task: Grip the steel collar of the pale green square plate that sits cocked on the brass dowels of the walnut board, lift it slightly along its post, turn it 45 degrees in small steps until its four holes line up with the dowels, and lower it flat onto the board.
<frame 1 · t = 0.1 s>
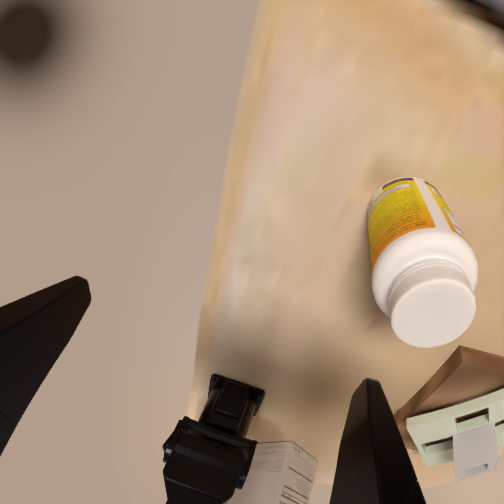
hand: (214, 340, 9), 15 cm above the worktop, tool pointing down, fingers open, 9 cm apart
supplement bottle: (405, 211, 20), on the worktop
flange plate: (473, 427, 26), point 3 cm above the worktop, touching walnut board
walnut board: (471, 406, 28), on the worktop
supplement box: (283, 452, 45), on the worktop
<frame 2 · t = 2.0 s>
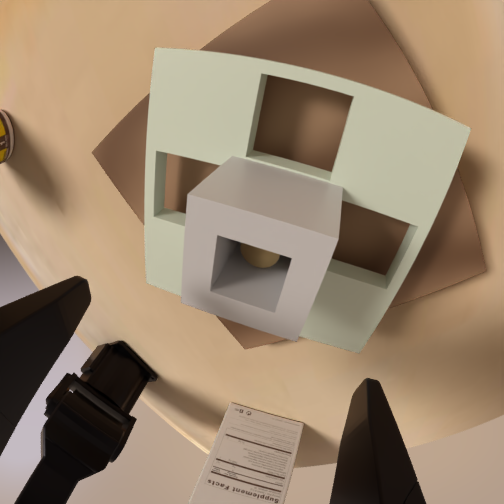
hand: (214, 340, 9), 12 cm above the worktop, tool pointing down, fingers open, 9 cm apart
supplement bottle: (3, 133, 23), on the worktop
flange plate: (280, 208, 16), point 3 cm above the worktop, touching walnut board
walnut board: (290, 187, 18), on the worktop
supplement box: (261, 425, 35), on the worktop
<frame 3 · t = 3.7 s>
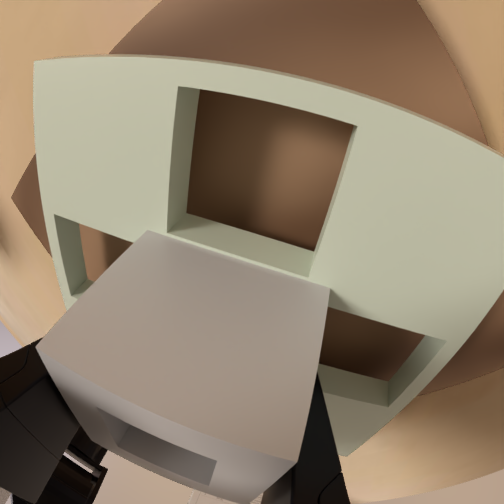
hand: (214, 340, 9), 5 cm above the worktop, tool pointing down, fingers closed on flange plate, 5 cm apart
flange plate: (235, 298, 11), point 3 cm above the worktop, touching gripper, walnut board
walnut board: (258, 250, 13), on the worktop
supplement box: (245, 474, 30), on the worktop
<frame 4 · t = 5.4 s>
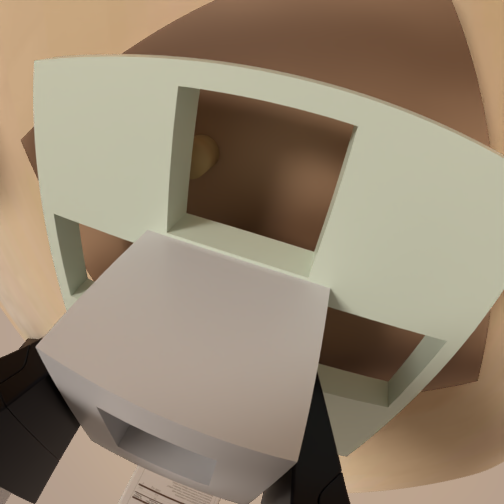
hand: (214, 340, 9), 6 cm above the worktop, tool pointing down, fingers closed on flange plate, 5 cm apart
flange plate: (234, 298, 11), point 4 cm above the worktop, touching gripper
walnut board: (264, 238, 14), on the worktop
supplement box: (191, 448, 32), on the worktop
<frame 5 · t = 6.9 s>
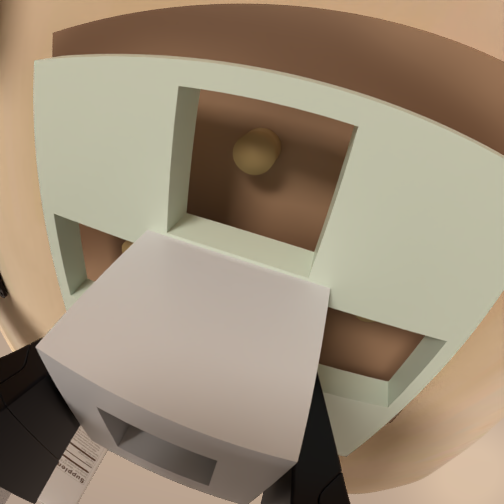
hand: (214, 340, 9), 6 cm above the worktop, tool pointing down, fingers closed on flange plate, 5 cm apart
flange plate: (234, 298, 11), point 4 cm above the worktop, touching gripper
walnut board: (264, 238, 14), on the worktop
supplement box: (88, 388, 31), on the worktop
when the fingers open (4 cm above the worktop, at t = 9.4 s): flange plate stays where it is, resting on walnut board.
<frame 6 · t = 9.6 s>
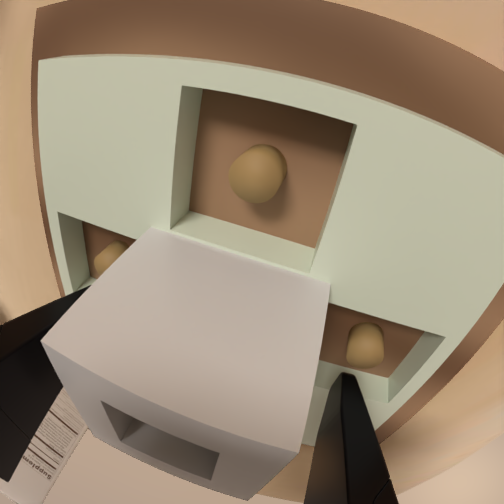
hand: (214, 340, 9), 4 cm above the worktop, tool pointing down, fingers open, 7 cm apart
flange plate: (236, 295, 11), point 2 cm above the worktop, touching walnut board
walnut board: (253, 261, 12), on the worktop
supplement box: (59, 380, 29), on the worktop
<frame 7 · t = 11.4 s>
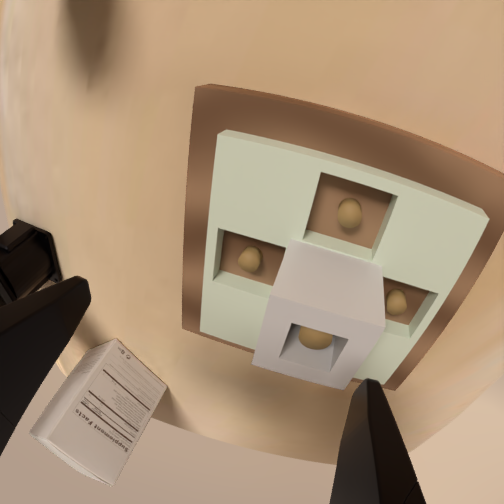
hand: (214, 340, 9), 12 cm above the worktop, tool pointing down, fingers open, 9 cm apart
flange plate: (325, 276, 19), point 2 cm above the worktop, touching walnut board
walnut board: (329, 257, 20), on the worktop
supplement box: (126, 366, 37), on the worktop
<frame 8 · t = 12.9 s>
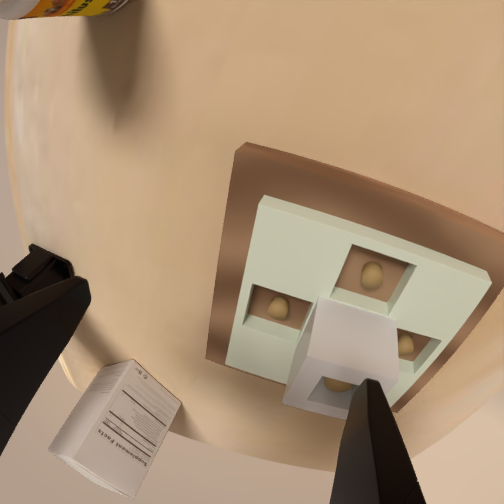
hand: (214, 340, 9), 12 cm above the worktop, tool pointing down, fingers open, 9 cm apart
flange plate: (344, 322, 20), point 2 cm above the worktop, touching walnut board
walnut board: (346, 303, 22), on the worktop
supplement box: (141, 383, 38), on the worktop
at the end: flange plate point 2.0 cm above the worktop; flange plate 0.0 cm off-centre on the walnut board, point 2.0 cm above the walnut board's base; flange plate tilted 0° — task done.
